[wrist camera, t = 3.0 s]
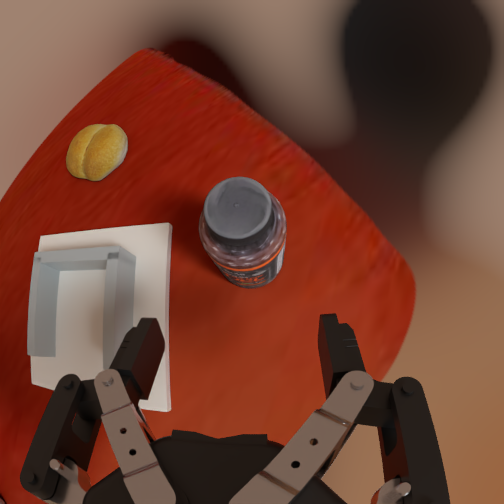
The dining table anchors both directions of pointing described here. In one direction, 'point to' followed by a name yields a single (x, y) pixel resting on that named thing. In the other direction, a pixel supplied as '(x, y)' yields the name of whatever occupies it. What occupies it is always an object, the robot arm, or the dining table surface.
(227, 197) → the supplement bottle
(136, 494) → the robot arm
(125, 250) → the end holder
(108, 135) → the bread roll
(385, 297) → the dining table surface
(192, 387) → the dining table surface
